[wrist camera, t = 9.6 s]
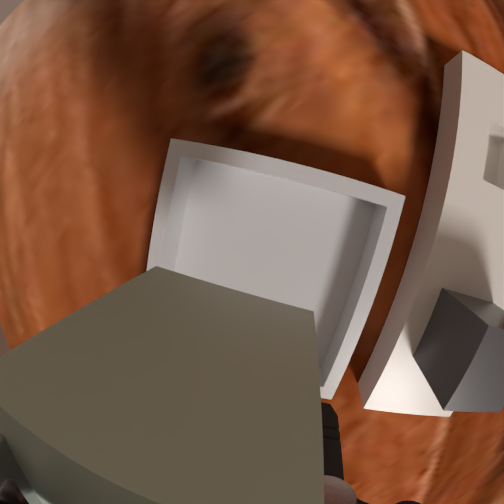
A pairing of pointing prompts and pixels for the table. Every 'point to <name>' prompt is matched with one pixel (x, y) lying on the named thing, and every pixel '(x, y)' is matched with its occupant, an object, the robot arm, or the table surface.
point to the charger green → (169, 399)
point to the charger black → (464, 353)
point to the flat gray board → (447, 235)
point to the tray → (278, 237)
